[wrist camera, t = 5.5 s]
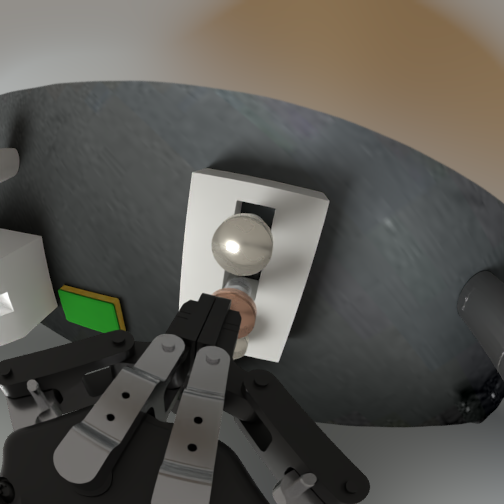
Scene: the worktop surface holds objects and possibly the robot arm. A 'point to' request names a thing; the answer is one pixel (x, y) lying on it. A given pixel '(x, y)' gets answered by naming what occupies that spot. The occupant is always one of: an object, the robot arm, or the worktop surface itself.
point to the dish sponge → (91, 309)
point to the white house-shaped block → (23, 285)
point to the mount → (283, 255)
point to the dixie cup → (8, 163)
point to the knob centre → (240, 303)
